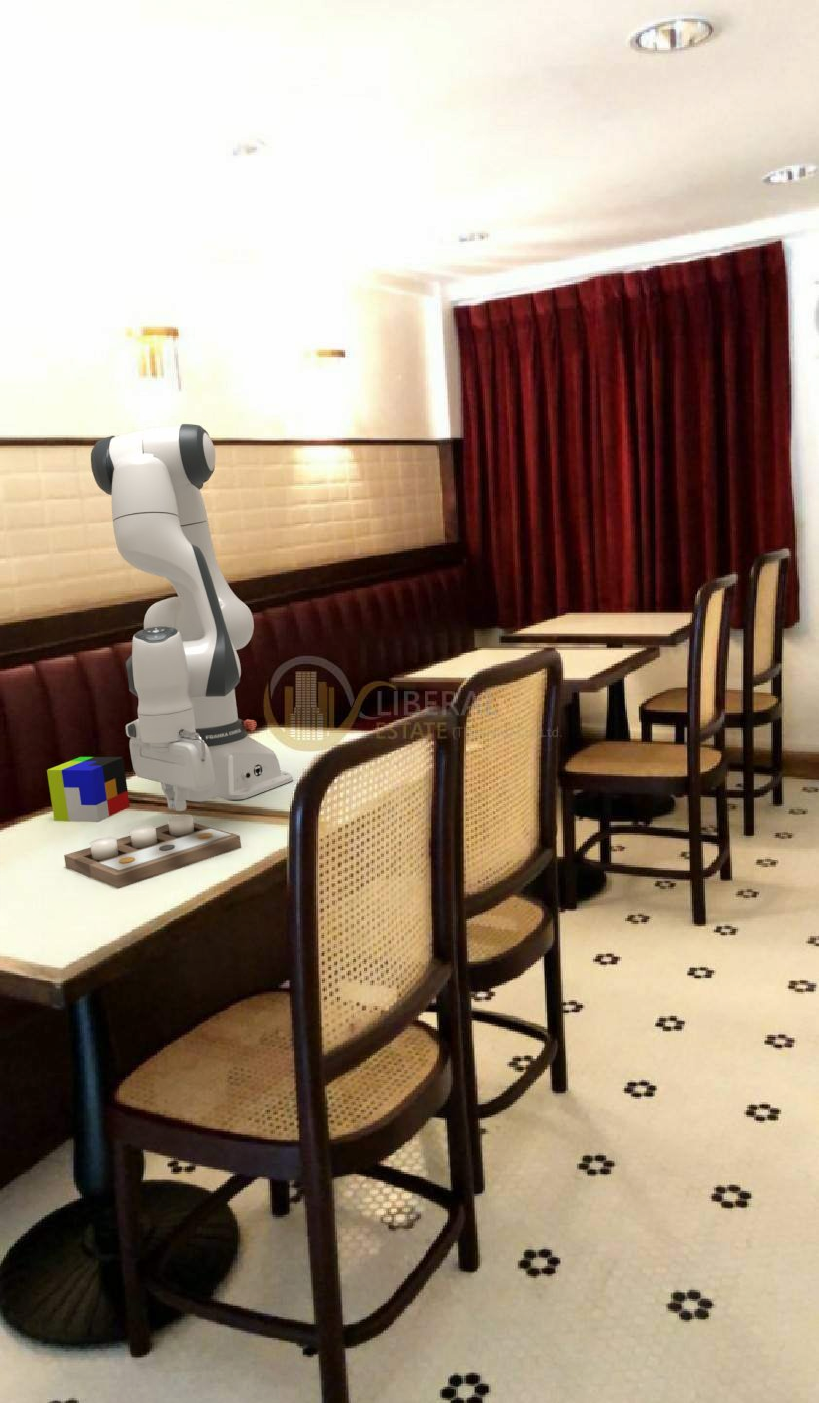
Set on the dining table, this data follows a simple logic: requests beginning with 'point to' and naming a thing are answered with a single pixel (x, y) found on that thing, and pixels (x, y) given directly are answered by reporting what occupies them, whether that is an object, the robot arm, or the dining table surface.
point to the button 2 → (181, 825)
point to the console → (153, 855)
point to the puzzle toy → (88, 789)
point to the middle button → (143, 836)
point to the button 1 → (104, 848)
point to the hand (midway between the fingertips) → (177, 809)
